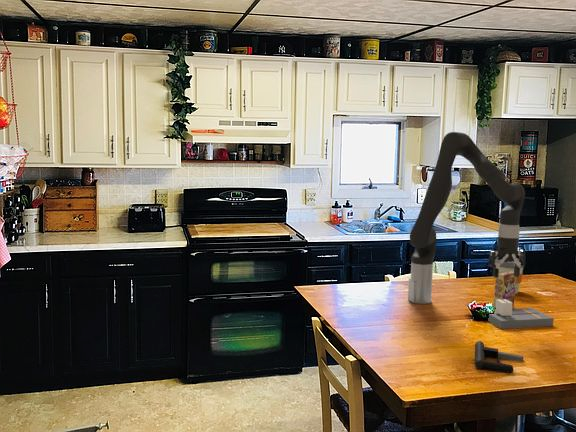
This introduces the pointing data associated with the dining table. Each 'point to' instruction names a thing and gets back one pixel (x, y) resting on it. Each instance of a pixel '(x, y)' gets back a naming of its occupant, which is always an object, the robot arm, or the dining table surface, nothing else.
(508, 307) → the slider knob
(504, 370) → the door handle
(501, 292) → the candy box
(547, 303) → the dining table surface
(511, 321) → the console board
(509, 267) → the reusable coffee cup
